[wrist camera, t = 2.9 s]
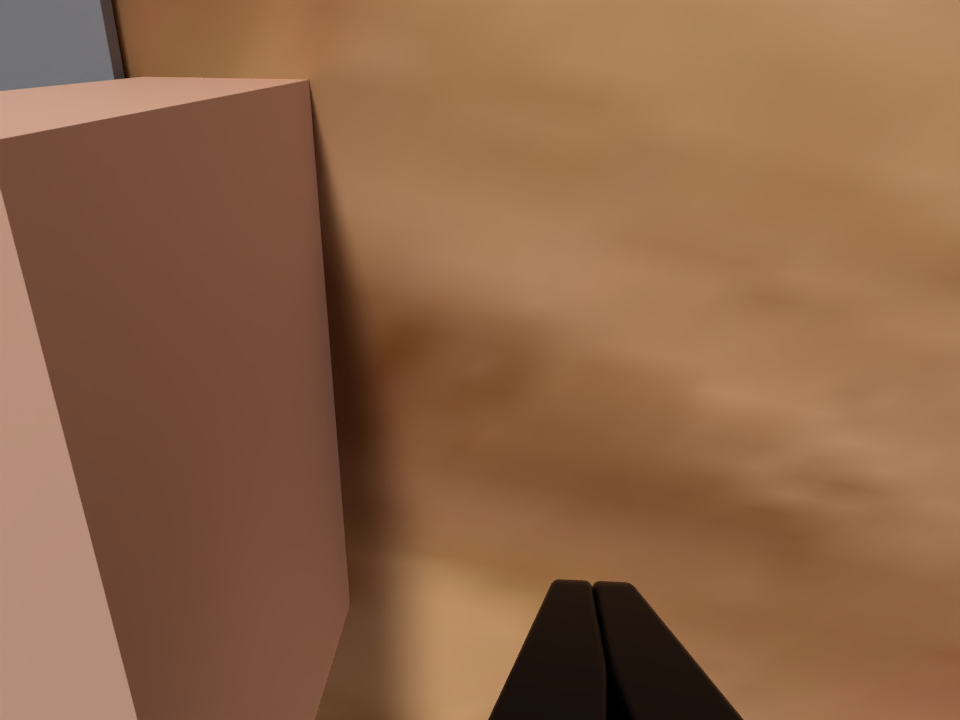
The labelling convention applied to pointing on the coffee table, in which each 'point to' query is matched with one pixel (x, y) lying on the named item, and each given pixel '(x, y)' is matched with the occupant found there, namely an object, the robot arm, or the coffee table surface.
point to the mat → (57, 43)
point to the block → (165, 405)
